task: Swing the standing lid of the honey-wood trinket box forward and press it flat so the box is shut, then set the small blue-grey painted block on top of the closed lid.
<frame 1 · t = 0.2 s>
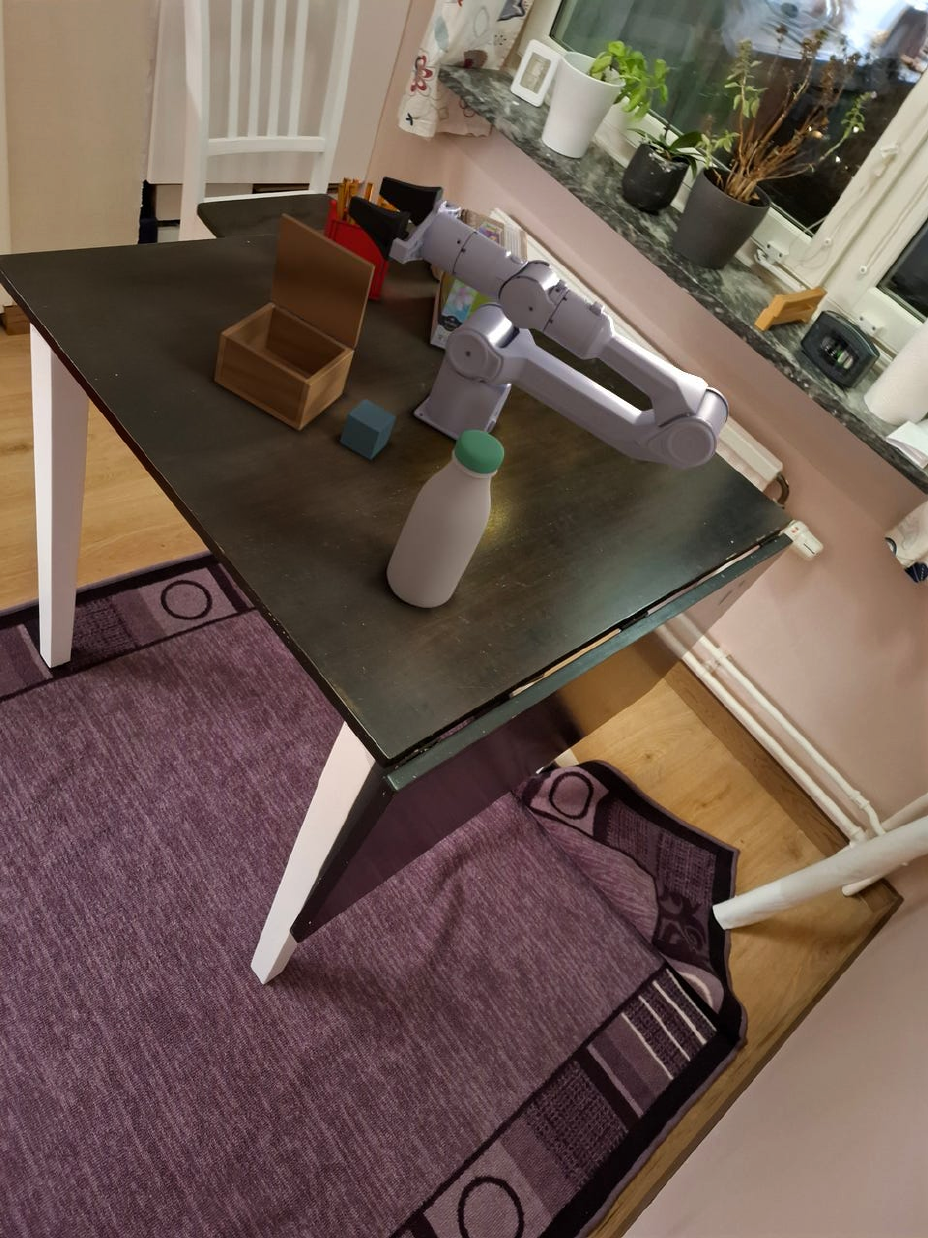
hand: (366, 194, 97), 21 cm above the table, tool horizontal, fingers open, 7 cm apart
box: (280, 387, 103), on the table
french fries container: (346, 283, 124), on the table
block: (363, 442, 102), on the table
milk bottle: (418, 583, 91), on the table
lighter: (440, 272, 137), on the table
tea box: (461, 330, 127), on the table
box lid: (320, 283, 97), point 13 cm above the table, hinge at 84.0°
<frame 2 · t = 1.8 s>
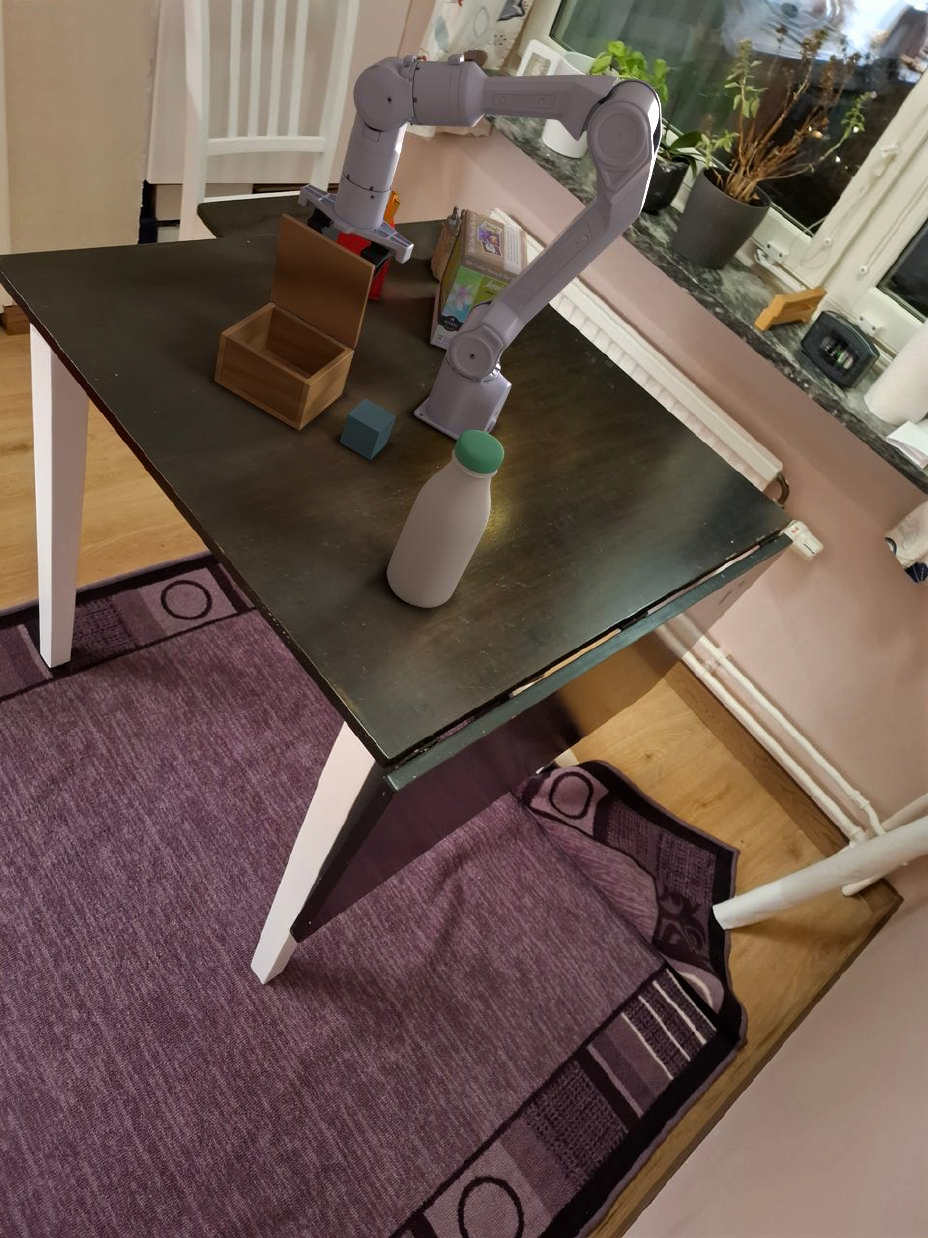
hand: (339, 286, 103), 10 cm above the table, tool pointing down, fingers open, 5 cm apart
nothing on the table moved.
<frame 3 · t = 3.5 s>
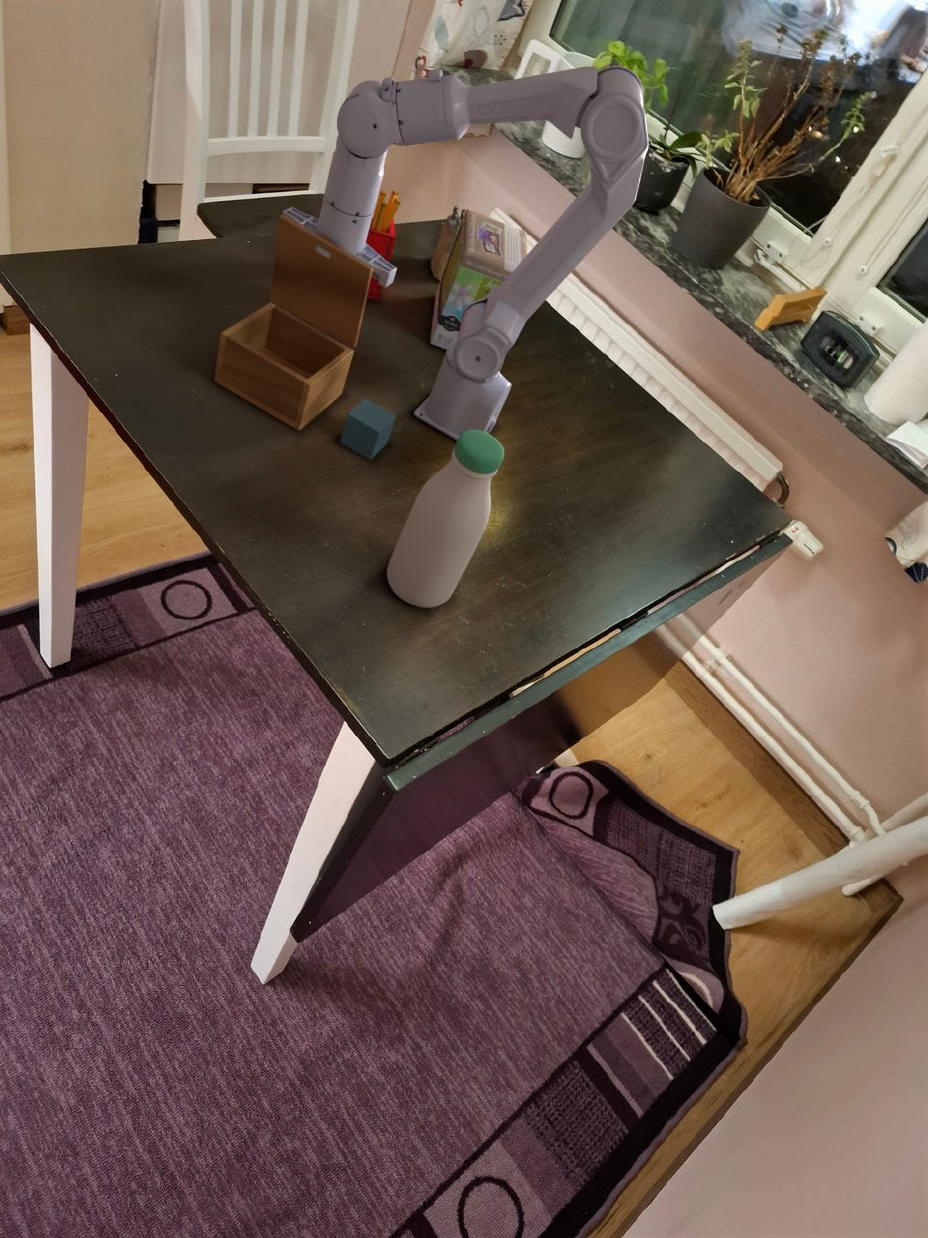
hand: (323, 308, 102), 8 cm above the table, tool pointing down, fingers closed, pressing on box lid
box lid: (319, 284, 97), point 13 cm above the table, hinge at 81.8°, touching gripper
everything else where it was.
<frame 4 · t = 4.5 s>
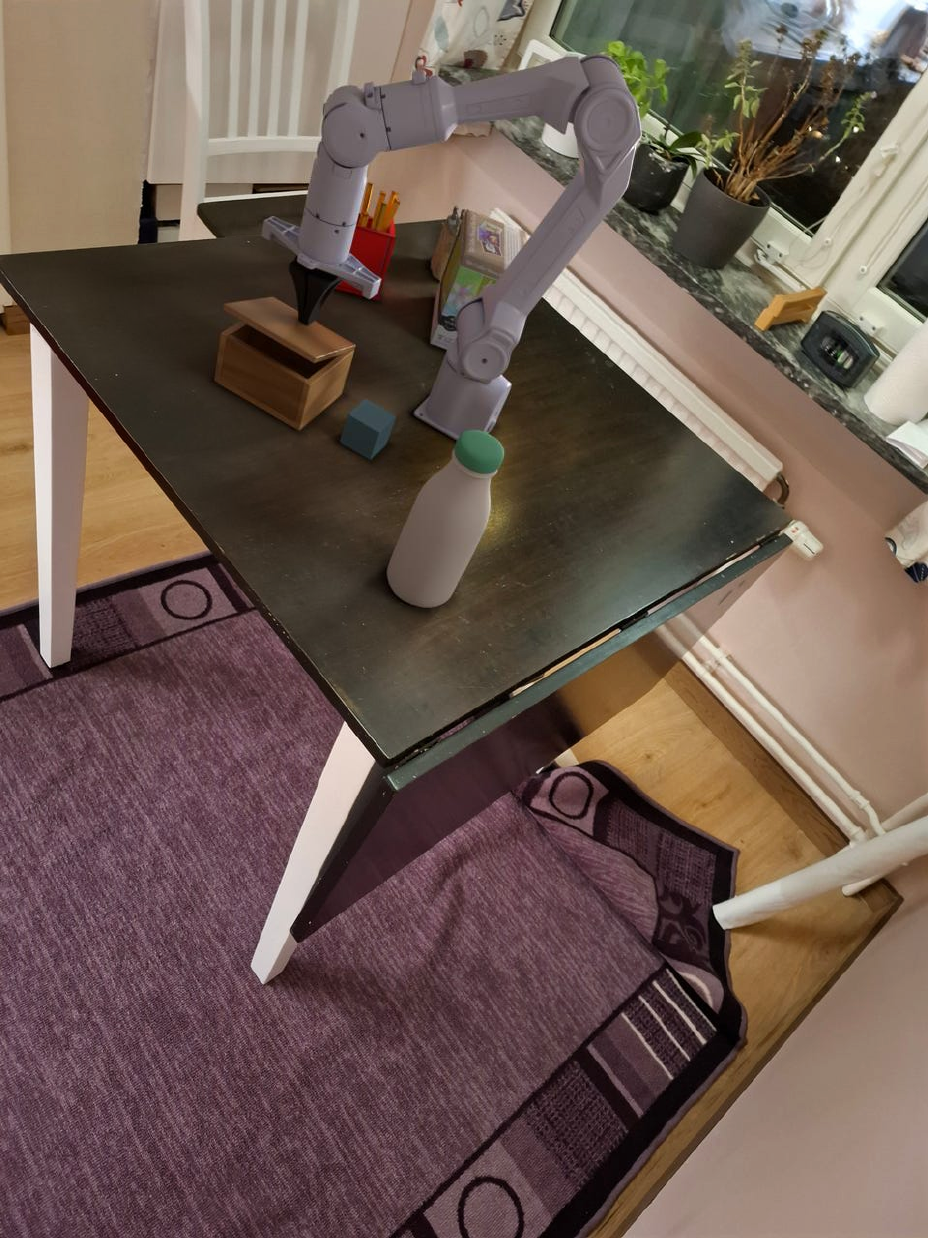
hand: (306, 320, 99), 8 cm above the table, tool pointing down, fingers closed
box lid: (292, 328, 97), point 9 cm above the table, hinge at 16.2°, touching gripper
everything else where it was.
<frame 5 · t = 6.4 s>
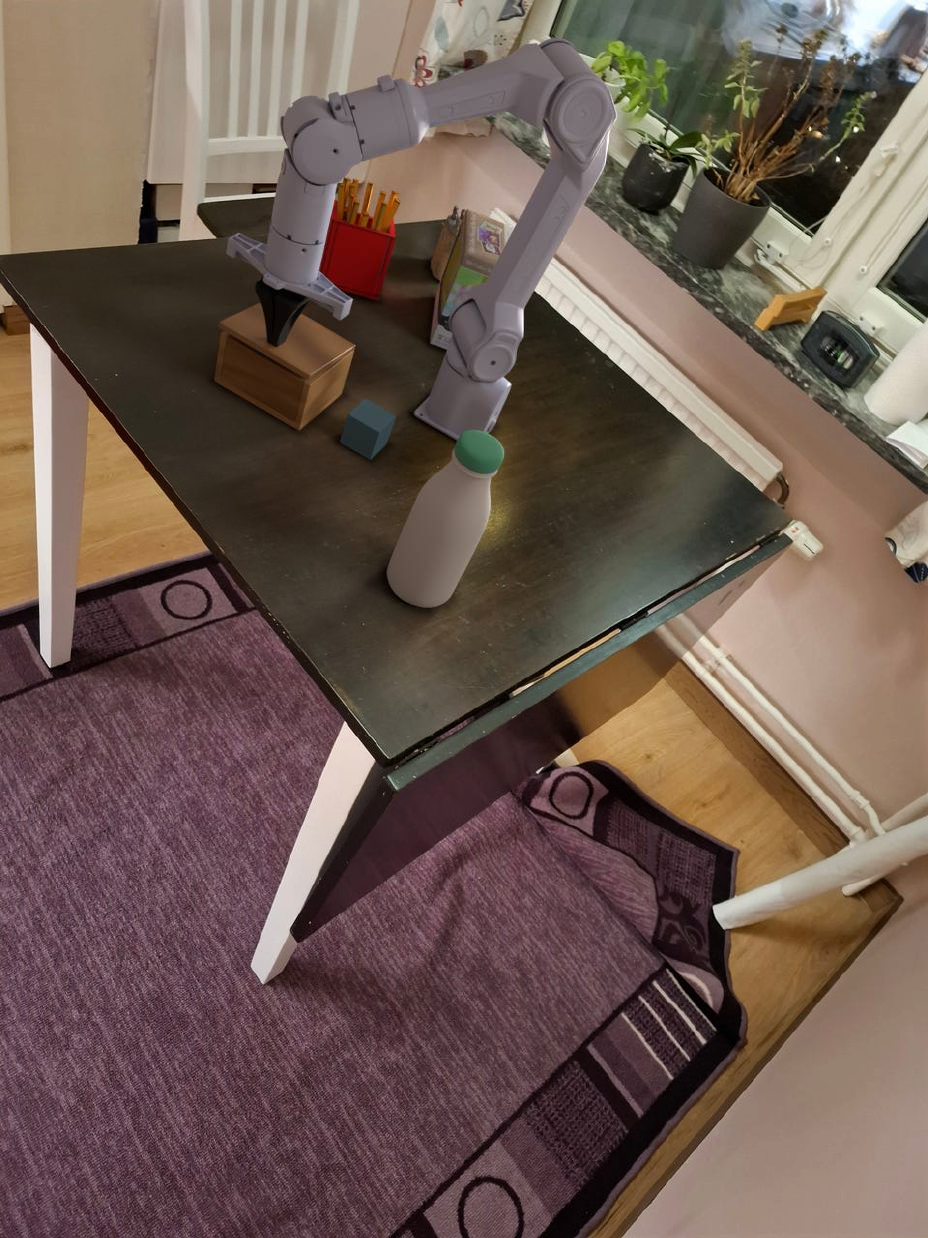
hand: (276, 341, 95), 8 cm above the table, tool pointing down, fingers closed, pressing on box lid
box lid: (289, 336, 97), point 8 cm above the table, hinge at 5.1°, touching gripper
everything else where it was.
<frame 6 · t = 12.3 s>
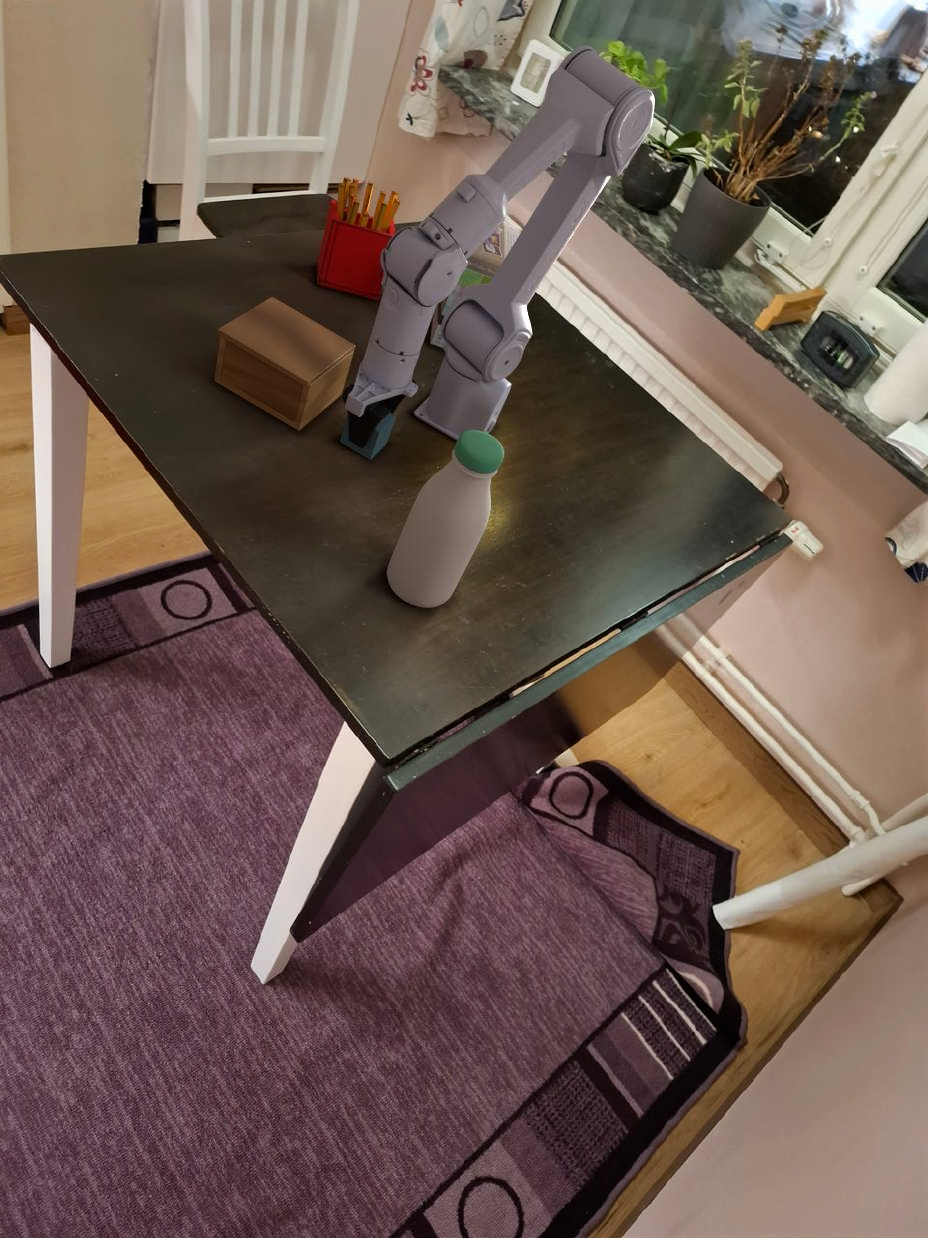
hand: (366, 434, 101), 1 cm above the table, tool pointing down, fingers closed on block, 4 cm apart
block: (363, 442, 102), on the table, touching gripper
box lid: (288, 339, 98), point 7 cm above the table, hinge at 0.6°
everything else where it was.
when the fingers open (9 cm above the table, at t = 15.9 s): block stays where it is, resting on box lid.
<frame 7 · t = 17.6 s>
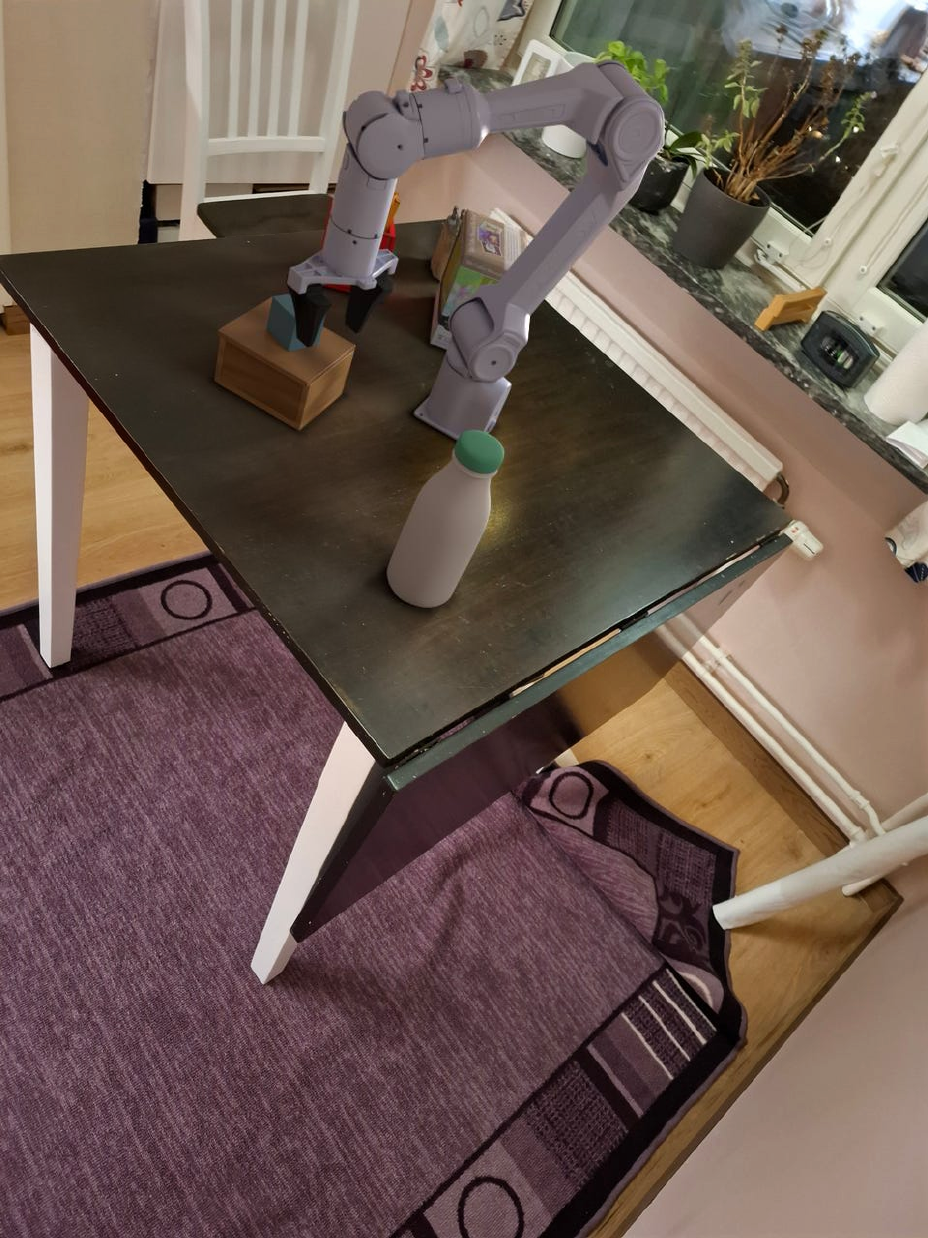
hand: (328, 335, 96), 10 cm above the table, tool pointing down, fingers open, 7 cm apart
block: (292, 337, 98), point 8 cm above the table, touching box lid
box lid: (288, 340, 98), point 7 cm above the table, hinge at -0.1°, touching block
everything else where it was.
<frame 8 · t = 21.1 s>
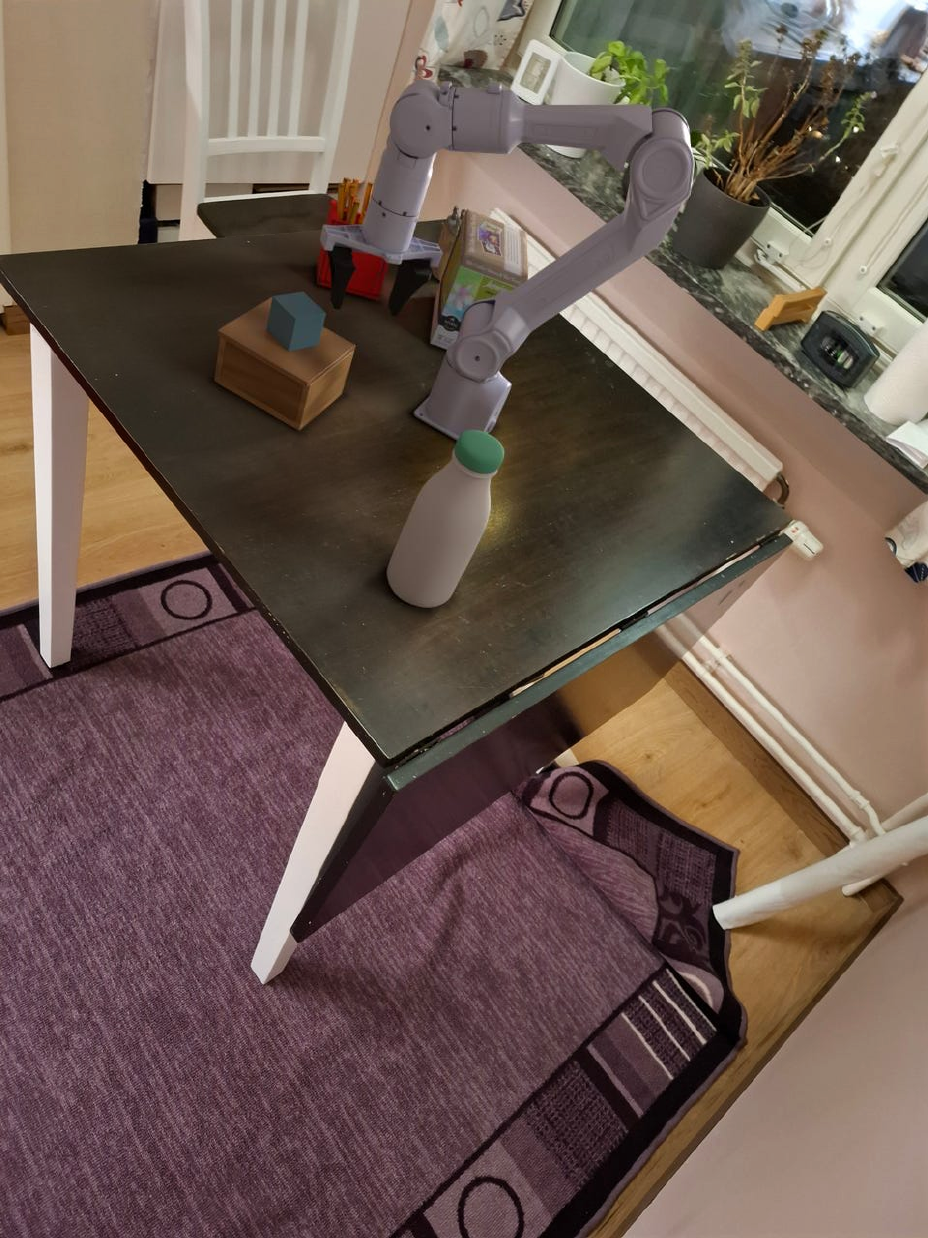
hand: (364, 308, 102), 10 cm above the table, tool pointing down, fingers open, 7 cm apart
nothing on the table moved.
at the end: box lid at +0° (first picture: +84°); block inside the target area on the box (0.2 cm from its centre), point 7.5 cm above the box's base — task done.
